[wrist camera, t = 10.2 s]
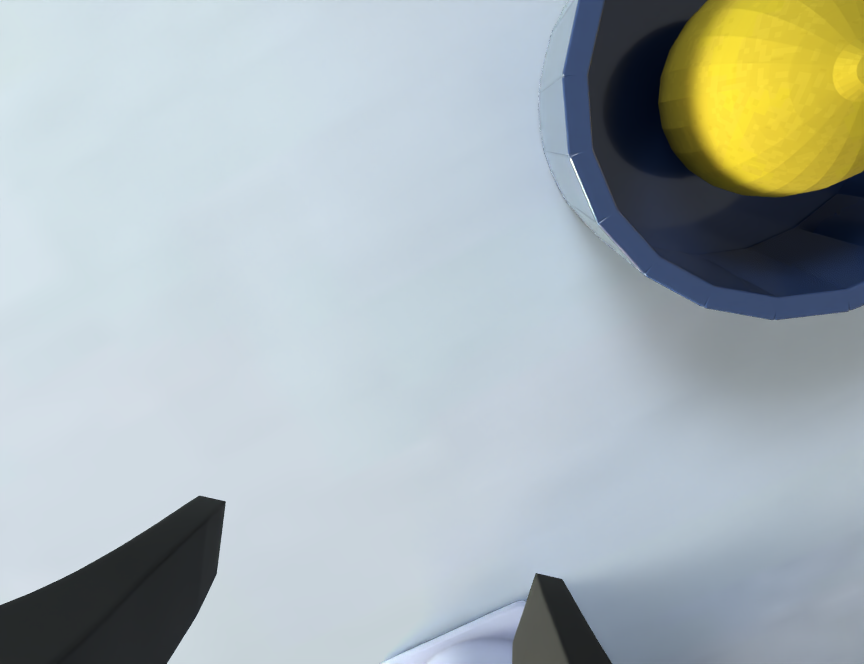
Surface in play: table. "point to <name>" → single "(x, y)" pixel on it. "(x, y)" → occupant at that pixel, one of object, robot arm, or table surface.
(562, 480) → the table surface
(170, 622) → the robot arm
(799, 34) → the lemon
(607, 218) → the blue mug
